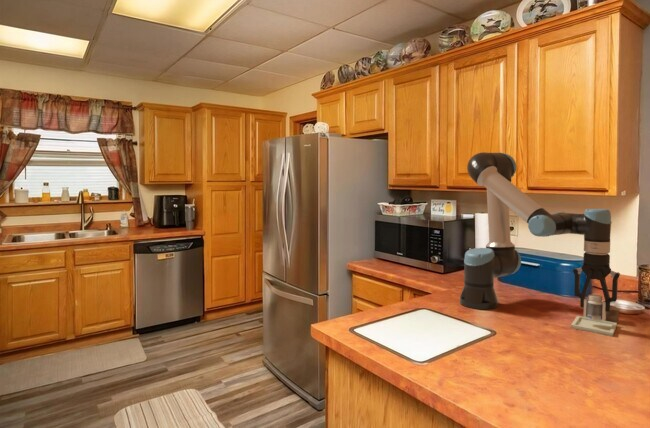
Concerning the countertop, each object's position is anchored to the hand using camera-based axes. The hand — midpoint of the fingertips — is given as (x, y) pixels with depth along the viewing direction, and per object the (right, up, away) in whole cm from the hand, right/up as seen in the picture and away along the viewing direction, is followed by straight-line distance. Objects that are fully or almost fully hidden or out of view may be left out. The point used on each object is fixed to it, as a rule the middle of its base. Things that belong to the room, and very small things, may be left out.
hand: (594, 318), depth 137 cm
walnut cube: (+10, -3, +7) cm, 12 cm away
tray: (0, -3, 0) cm, 3 cm away
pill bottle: (0, -1, 0) cm, 1 cm away
